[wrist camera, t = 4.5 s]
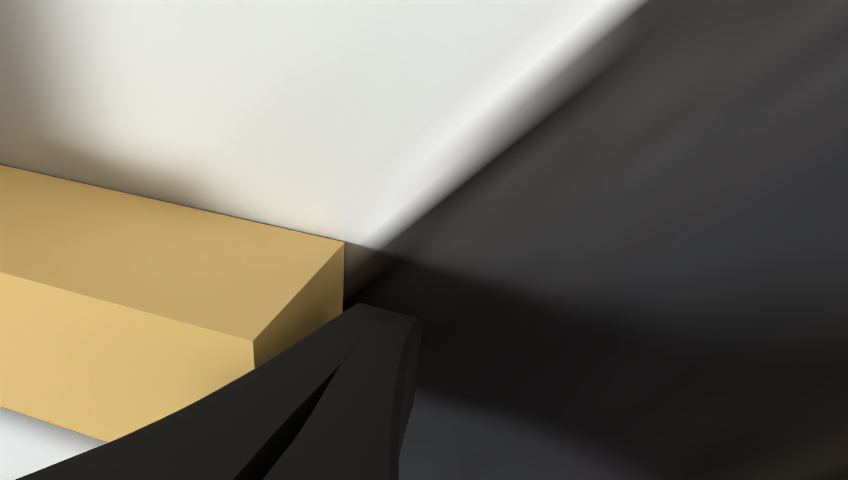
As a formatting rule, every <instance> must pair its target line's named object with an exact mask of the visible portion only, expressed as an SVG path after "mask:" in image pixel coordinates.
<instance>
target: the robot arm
mask: <svg viewBox="0 0 848 480" xmlns="http://www.w3.org/2000/svg"><path fill="white" fill-rule="evenodd" d="M422 330H423V324H422V323H421V322H420V320H419V319H418V318H417V317H413V316H409V315H405V314H401V313H397V312H393V311H389V310H386V309H382V308H378V307H374V306H370V305H366V304H362V303H358V304H356V305H354V306H353V307H351V308H349V309H348V310H346V311H345V312H343V313H342V314H340V315H338V316H337V317H335V318H334V319H332V320H331V321H329V322H328V323H326V324H325V325H323V326H322V327H320V328H319V329H317V330H316V331H314V332H313V333H311V334H309V335H308V336H306V337H305V338H303V339H302V340H300V341H299V342H297V343H296V344H294V345H292V346H291V347H289V348H287V349H286V350H284V351H283V352H281V353H279V354H278V355H276V356H275V357H273V358H271V359H270V360H268V361H266V362H265V363H263V364H262V365H260V366H258V367H257V368H255V369H253V370H252V371H250V372H248V373H246V374H245V375H243V376H241V377H239V378H238V379H236V380H234V381H232V382H230V383H229V384H227V385H225V386H223V387H221V388H220V389H218V390H216V391H214V392H212V393H211V394H209V395H207V396H205V397H204V398H202V399H200V400H198V401H196V402H194V403H192V404H190V405H188V406H186V407H184V408H182V409H180V410H178V411H176V412H174V413H172V414H170V415H168V416H166V417H164V418H162V419H160V420H158V421H155V422H153V423H151V424H149V425H147V426H145V427H142V428H140V429H138V430H136V431H134V432H131V433H129V434H127V435H125V436H123V437H120V438H118V439H116V440H114V441H111V442H109V443H107V444H104V445H102V446H99V447H97V448H94V449H92V450H89V451H87V452H84V453H82V454H79V455H76V456H74V457H71V458H69V459H66V460H64V461H61V462H59V463H56V464H54V465H51V466H49V467H46V468H44V469H41V470H39V471H36V472H34V473H31V474H29V475H26V476H24V477H21V478H18V479H16V480H399V454H400V450H401V446H402V442H403V438H404V434H405V430H406V426H407V423H408V419H409V416H410V413H411V410H412V406H413V400H414V392H415V385H416V377H417V369H418V361H419V353H420V346H421V338H422Z"/></svg>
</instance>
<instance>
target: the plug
mask: <svg viewBox="0 0 848 480" xmlns="http://www.w3.org/2000/svg"><path fill="white" fill-rule="evenodd" d="M344 251H345V242H342V241H337V240H333V239H328V238H324V237H319V236H315V235H311V234H306V233H302V232H297V231H293V230H288V229H284V228H279V227H275V226H270V225H266V224H262V223H257V222H253V221H248V220H244V219H239V218H235V217H230V216H226V215H221V214H217V213H213V212H208V211H204V210H199V209H195V208H190V207H186V206H181V205H177V204H172V203H168V202H164V201H159V200H155V199H150V198H146V197H141V196H137V195H132V194H128V193H124V192H119V191H115V190H110V189H106V188H101V187H97V186H92V185H88V184H83V183H79V182H75V181H70V180H66V179H61V178H57V177H52V176H48V175H43V174H39V173H34V172H30V171H26V170H21V169H17V168H12V167H8V166H3V165H0V406H1V407H4V408H7V409H10V410H13V411H16V412H19V413H22V414H25V415H28V416H31V417H34V418H37V419H40V420H43V421H46V422H49V423H52V424H55V425H58V426H61V427H64V428H67V429H70V430H73V431H75V432H78V433H81V434H84V435H87V436H90V437H93V438H96V439H99V440H102V441H105V442H108V443H109V442H111V441H114V440H116V439H118V438H120V437H123V436H125V435H127V434H129V433H131V432H134V431H136V430H138V429H140V428H142V427H145V426H147V425H149V424H151V423H153V422H155V421H158V420H160V419H162V418H164V417H166V416H168V415H170V414H172V413H174V412H176V411H178V410H180V409H182V408H184V407H186V406H188V405H190V404H192V403H194V402H196V401H198V400H200V399H202V398H204V397H205V396H207V395H209V394H211V393H212V392H214V391H216V390H218V389H220V388H221V387H223V386H225V385H227V384H229V383H230V382H232V381H234V380H236V379H238V378H239V377H241V376H243V375H245V374H246V373H248V372H250V371H252V370H253V369H255V368H257V367H258V366H260V365H262V364H263V363H265V362H266V361H268V360H270V359H271V358H273V357H275V356H276V355H278V354H279V353H281V352H283V351H284V350H286V349H287V348H289V347H291V346H292V345H294V344H296V343H297V342H299V341H300V340H302V339H303V338H305V337H306V336H308V335H309V334H311V333H313V332H314V331H316V330H317V329H319V328H320V327H322V326H323V325H325V324H326V323H328V322H329V321H331V320H332V319H334V318H335V317H337V316H338V315H340V314H342V313H343V282H344Z"/></svg>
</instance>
